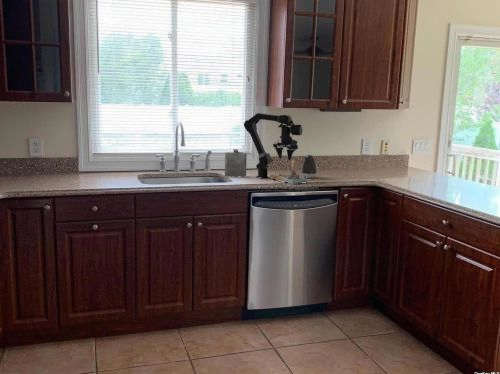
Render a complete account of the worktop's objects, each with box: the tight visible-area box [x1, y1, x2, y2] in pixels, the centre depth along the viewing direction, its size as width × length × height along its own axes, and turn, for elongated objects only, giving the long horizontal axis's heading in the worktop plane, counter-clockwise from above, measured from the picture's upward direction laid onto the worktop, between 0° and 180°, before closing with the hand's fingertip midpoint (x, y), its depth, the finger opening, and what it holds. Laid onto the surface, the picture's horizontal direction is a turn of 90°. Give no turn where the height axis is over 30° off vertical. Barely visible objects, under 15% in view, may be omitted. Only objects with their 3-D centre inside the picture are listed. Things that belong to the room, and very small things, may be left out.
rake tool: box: [287, 159, 301, 180], centre depth 311 cm, size 5×5×13 cm
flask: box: [224, 148, 248, 177], centre depth 331 cm, size 4×14×18 cm, turn 86°
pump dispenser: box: [301, 154, 318, 179], centre depth 330 cm, size 10×10×15 cm
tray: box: [280, 177, 307, 185], centre depth 312 cm, size 11×11×3 cm
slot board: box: [269, 173, 289, 181], centre depth 322 cm, size 12×10×3 cm
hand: (284, 159), depth 321 cm, fingers open, 9 cm apart
